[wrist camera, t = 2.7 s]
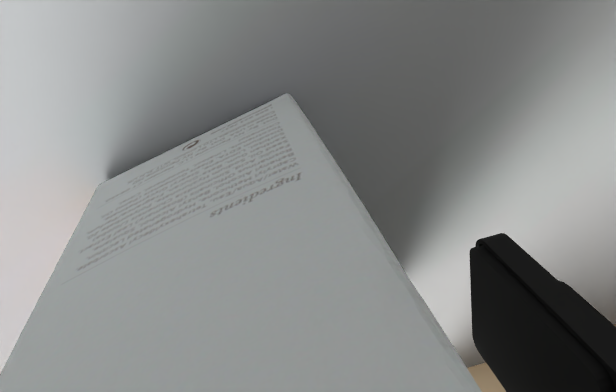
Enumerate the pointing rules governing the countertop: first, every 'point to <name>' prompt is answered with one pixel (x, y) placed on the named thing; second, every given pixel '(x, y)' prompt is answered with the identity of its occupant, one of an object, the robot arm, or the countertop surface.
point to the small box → (233, 280)
